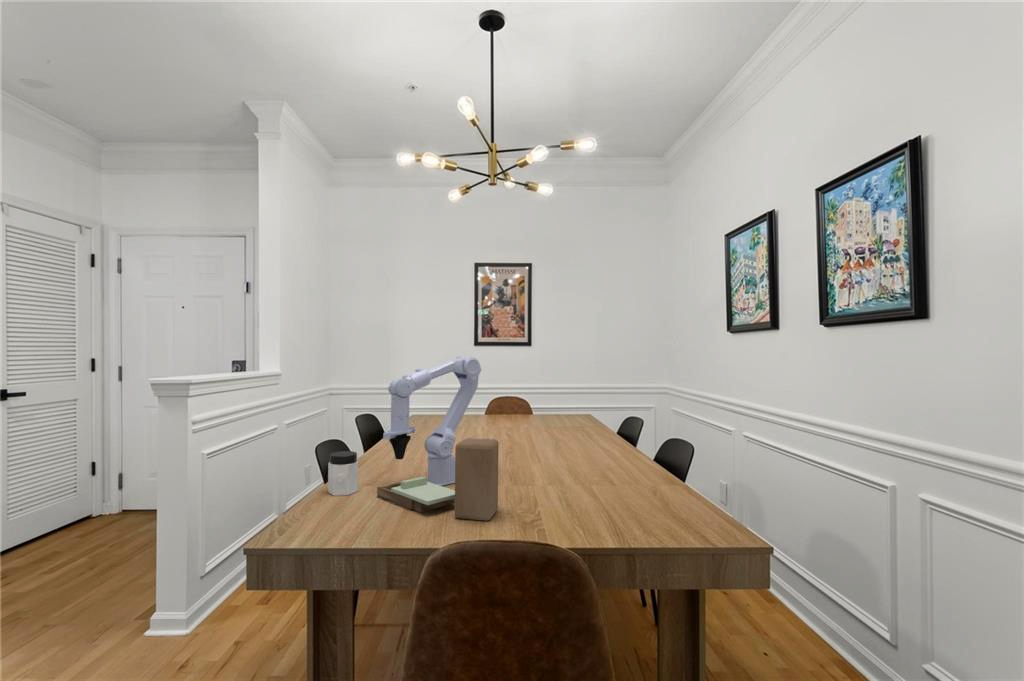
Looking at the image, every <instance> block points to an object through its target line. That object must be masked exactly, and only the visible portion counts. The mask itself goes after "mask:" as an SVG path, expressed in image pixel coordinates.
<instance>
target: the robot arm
mask: <svg viewBox="0 0 1024 681" xmlns="http://www.w3.org/2000/svg"><path fill="white" fill-rule="evenodd" d="M481 372H482V366H481V364H480V361H479V360H478V358H476V357H472V356H471V357H462V356H456V357H455V358H451V359H449V360H447V361H444V362H442V363H440V364H438V365H436V366H434V367H432V368H430V369H428V370H426V369H424V368H416V369H415V370H414V372H411V373H409V374H403V375H402V378H401V377H400V378H398V377H396V378H394V379H392V380H391V382H390V383H389V386H388V387H387V391H388V393H389V394H390V395H391V397H390V398H391V399H390V430H388V431H385V432H383V436H382V438H383V440H389V442H390V444H391V447H392V449H393V453H394V457H395V460H404V457H405V454H406V451H407V447H408V445H409V443H410V440H411V439H412V438H411V437H412V436H411V435H409V434H415V433H416V426H410V397H411V395H412V393H414V392H415V391H418V390H420V389H422V388H425V387H427V386H429V385H431V381H432V380H434V379H437V378H439V377H442V376H445V375H447V374H449V373H453V374H454V375H455V377H456V379H457V380H458V381H459V384H460V386H459V389H458V391H457V392H456V394H455V396H454V398H453V400H452V402H451V404H450V406H449V408H448V409H447V411H446V413H445V416H444V417H443V419H442V420H441V423H440V424H439V425H438V426H437V427H436V428H434V429H433V431H432V433H430V434H429V436H427V437H426V439H425V441H424V447H423V448H424V449H425V451H426V452H427V482H430V483H433V484H436V485H439V486H443V487H444V486H447V485H451V484H455V455H453V454H452V453H453V451H454V446H455V445H454V444H455V442H456V441H457V437H456V434H455V432H456V430H457V428H458V426H459V424H460V423H461V420H462V418H463V416H464V414H465V413H466V412H467V409H468V407H469V406H470V403H471V401H472V399H473V397H474V395H475V393H476V391H477V390H478V385H479V375H480V373H481Z"/></svg>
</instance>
